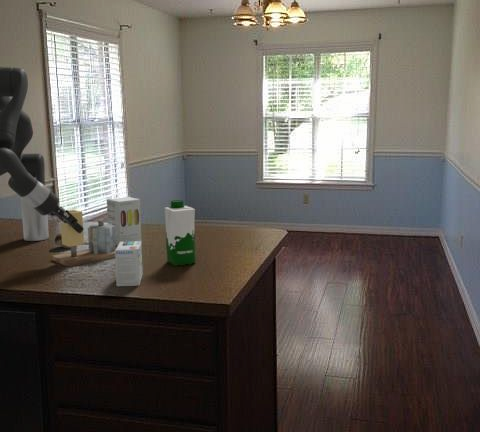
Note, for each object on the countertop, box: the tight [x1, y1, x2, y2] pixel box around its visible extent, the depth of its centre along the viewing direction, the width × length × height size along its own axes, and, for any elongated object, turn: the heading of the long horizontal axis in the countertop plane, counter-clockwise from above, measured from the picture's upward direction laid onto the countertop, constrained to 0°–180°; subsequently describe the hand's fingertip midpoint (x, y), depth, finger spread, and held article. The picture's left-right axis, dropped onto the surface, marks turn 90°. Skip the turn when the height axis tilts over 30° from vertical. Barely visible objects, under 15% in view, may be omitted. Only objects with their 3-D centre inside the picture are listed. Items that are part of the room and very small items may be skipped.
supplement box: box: [106, 196, 142, 247], centre depth 212 cm, size 10×9×17 cm
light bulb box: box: [114, 240, 143, 287], centre depth 164 cm, size 11×7×11 cm, turn 5°
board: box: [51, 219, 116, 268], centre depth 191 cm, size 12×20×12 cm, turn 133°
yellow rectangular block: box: [60, 209, 85, 248], centre depth 186 cm, size 5×5×11 cm
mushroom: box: [54, 232, 71, 249], centre depth 207 cm, size 8×8×6 cm
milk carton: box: [164, 199, 196, 267], centre depth 183 cm, size 9×9×20 cm
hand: (77, 229), depth 188 cm, fingers closed on yellow rectangular block, 5 cm apart
